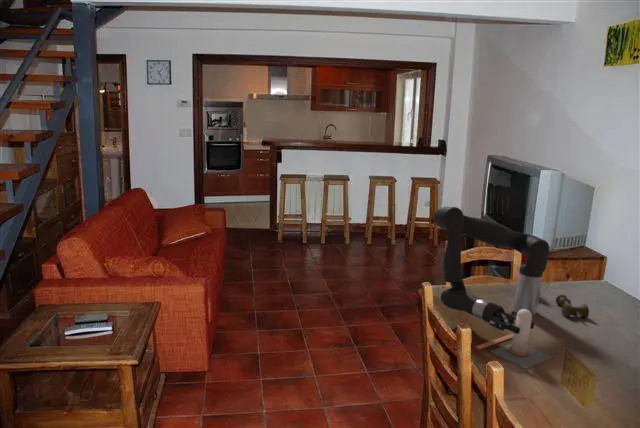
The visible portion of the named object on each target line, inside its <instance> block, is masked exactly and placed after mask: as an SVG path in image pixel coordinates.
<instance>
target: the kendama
mask: <svg viewBox="0 0 640 428" xmlns="http://www.w3.org/2000/svg"><path fill="white" fill-rule="evenodd" d="M555 303H556V305H558V306H561V314H562V316H563V317H564V318H569V317H570V316H572V315H573V316H579V317H580V318H583V319H588V317H589V315H590V309H589V306H588V305H587V304H585V303H584V304H581V305H579V306H573V305H572V303H571V300H570V299H568V297H567V296H566V295H565V294H559V295H557V296H556V298H555Z"/></svg>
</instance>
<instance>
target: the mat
mask: <svg viewBox="0 0 640 428" xmlns="http://www.w3.org/2000/svg"><path fill="white" fill-rule="evenodd" d="M510 346H512V342H511V343H509V344H505V345H503V346H501V347H498V348H495V349H493V350H490V353H491V354H494V355H496V356H498V357H500V358H502V359H504V360H505V361H508V362H510V363H512V364H514V365H516V366H517V367H519V368H522V369H524V370H527V369H530V368H533V367H535V366H536V365H540V364H541V363H544V362H546V361H549V360H550V359H553V356H551V355H548V354H545V353H544V352H541V351H539V350H537V349H535V348H532V347H531V346H528V345H527V350H528V356H527V357H518V356H514V355H512V354H511V353H510V352H509V347H510Z"/></svg>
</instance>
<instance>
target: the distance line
mask: <svg viewBox="0 0 640 428" xmlns="http://www.w3.org/2000/svg"><path fill="white" fill-rule="evenodd" d="M513 335H514V333H510V334H506V335H503V336H500V337H498V338H495V339H493V340H489V341H487V342H484V343H480V344H479V345H475V348H476V349H478V350H483V349H485V348H488V347H492V346H495V345H496V344H499V343H500V344H501V343H503V342H505V341H508V340H510V339H513Z"/></svg>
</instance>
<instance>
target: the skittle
mask: <svg viewBox="0 0 640 428" xmlns="http://www.w3.org/2000/svg"><path fill="white" fill-rule="evenodd" d="M532 320H533V316H532V314H531V312H530V311H529V310H527V309H521V310H519V311H518V313H517V317H516V320H515V321H516V323H515V325H514V326H517V327H519V328H520V332H519V333H518V334H516V333H514V332H513V334H514V335H513V338H512V342H511V343H512V346H510V347H509V352H510V353H511V354H512V355H514V356H518V357H527V356H528V350H527V346H528V343H529V338H530V337H529V336H530V331H531V328H530V327H531V322H533V321H532Z"/></svg>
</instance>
